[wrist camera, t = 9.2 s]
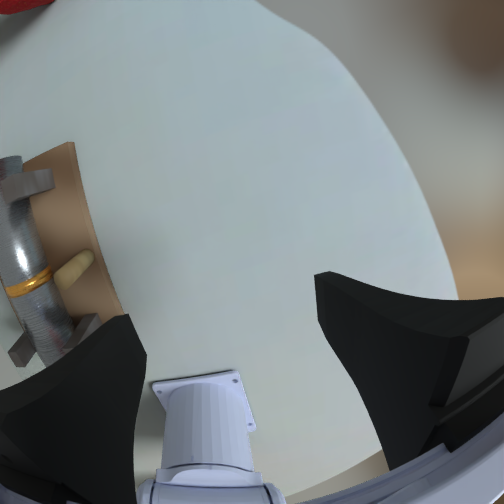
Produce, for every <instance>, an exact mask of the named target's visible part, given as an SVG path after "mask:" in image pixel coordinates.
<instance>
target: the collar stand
mask: <svg viewBox="0 0 504 504" xmlns="http://www.w3.org/2000/svg"><path fill="white" fill-rule="evenodd" d="M23 168H24V172H23V173H17V174H13V175H11V176H9V177H7V178H6V179H4V180H2V181H1V186H2V191H3V196H4V200H5V205H6V204H9V203H12V202H15V201H18V200H21V199H24V198H27V197H29V198H30V203H31V207H32V211H33V215H34V219H35V222H36V226H37V229H38V233H39V236H40V239H41V243H42V246H43V249H44V252H45V255H46V258H47V261H48V263H49V264H50V267H51V270H52V272H53V277H54V282H55V284H56V285H57V287H58V289H59V292H60V294H61V297H62V299H63V301H64V304H65V306H66V308H67V310H68V312H69V315H70V317H71V319H72V321H73V323H74V325H75V327H76V329H75V330H74V332H73V333H72V335H71V336H70V338H69V340H68V341H67V343H66V344H65V346H64V347H63V349H62V350H63V351H64V353H65V355H66V354H67V353H68V352H69V351H71V350H72V349H73V348H74V347H76V346H77V345H78V344H79V343H81V342H82V341H83V340H84V339H86V338H87V337H88V336H89V335H90V334H92V333H93V332H94V331H95V330H96V329H98V328H99V327H100V326H101V325H103V324H104V323H105V322H107V321H108V320H109V319H111V318H113V317H114V316H118V315H124V312H123V310H122V307H121V305H120V302H119V300H118V297H117V295H116V292H115V290H114V287H113V284H112V282H111V279H110V276H109V273H108V271H107V268H106V265H105V262H104V259H103V256H102V253H101V250H100V247H99V244H98V241H97V237H96V234H95V231H94V227H93V224H92V220H91V217H90V213H89V209H88V205H87V202H86V198H85V193H84V189H83V185H82V180H81V176H80V171H79V166H78V161H77V156H76V150H75V144H74V142H66V143H64V144H61V145H59V146H57V147H55V148H53V149H51V150H49V151H47V152H44V153H42V154H40V155H38V156H36V157H35V158H33V159H31V160H29V161H27V162H25V163H23ZM0 280H1V282H2V285H3V287H4V284H3V281H2V279H1V276H0ZM4 290H5V288H4ZM5 292H6V290H5ZM6 294H7V293H6ZM7 297H8V295H7ZM8 299H9V301H10V304H11V306H12V308H13V310H14V312H15V314H16V311H15V309H14V307H13V305H12V303H11V300H10V298H9V297H8ZM16 316H17V314H16ZM17 318H18V316H17ZM18 320H19V318H18ZM19 322H20V320H19ZM20 324H21V322H20ZM21 326H22V324H21ZM22 328H23V326H22ZM23 330H24V328H23ZM35 352H36V350H35V348H34V346H33V345H32V343H31V341H30V339H29V337H28V335H27V334H26V332H25V330H24V333H23V334H22V335H21V336H20V338H19V339H18V340H17V341H16V343H15V344H14V345H13V346H12V347H11V349H10V350H9V351H8V354H9V356H10V358H11V359H12V361H13V362H14V364H15V366H16V367H25V366H26V365H27V364H28V362H29V361H30V359H31V358H32V356H33V355H34V353H35Z"/></svg>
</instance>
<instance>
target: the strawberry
mask: <svg viewBox="0 0 504 504" xmlns="http://www.w3.org/2000/svg"><path fill="white" fill-rule="evenodd" d="M53 1H54V0H0V14H7V15H10V14H14V13H18V12H21V11H25V10H29V9H32V8H35V7H38V6H41V5H46V4H49V3H51V2H53Z"/></svg>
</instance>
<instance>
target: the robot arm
mask: <svg viewBox="0 0 504 504" xmlns="http://www.w3.org/2000/svg"><path fill="white" fill-rule="evenodd" d="M314 280H315V291H316V302H317V315H318V321H319V324H320V326H321V328H322V331H323V333H324V335H325V337H326V339H327V341H328V343H329V344H330V346H331V347H332V349H333V350H334V352H335V354H336V355H337V357H338V358H339V360H340V361H341V363H342V364H343V366H344V368H345V369H346V371H347V372H348V374H349V375H350V377H351V378H352V380H353V382H354V384H355V385H356V387H357V389H358V391H359V393H360V395H361V398H362V400H363V402H364V404H365V406H366V408H367V411H368V413H369V416H370V418H371V420H372V423H373V425H374V427H375V430H376V433H377V435H378V438H379V441H380V443H381V446H382V449H383V451H384V454H385V457H386V461H387V463H388V467H389V470H390V471H389V472H387V473H385V474H383V475H380V476H379V477H376V478H374V479H371V480H369V481H366V482H364V483H361V484H359V485H356V486H353V487H350V488H348V489H345V490H342V491H339V492H336V493H333V494H330V495H326V496H323V497H320V498H316V499H312V500H309V501H305V502H301V503H297V504H492V503H494V502H495V501H496V500H497V499H498V498H499V497H500V496H501V495H502V494H503V493H504V297H497V298H489V299H479V300H440V299H429V298H421V297H415V296H410V295H405V294H400V293H396V292H392V291H388V290H385V289H381V288H378V287H375V286H372V285H369V284H366V283H363V282H360V281H357V280H355V279H352V278H349V277H346V276H344V275H341V274H338V273H334V272H330V271H328V272H324V273H320V274H316V275H314ZM146 361H147V354H146V352H145V350H144V348H143V345H142V343H141V341H140V339H139V337H138V335H137V332H136V330H135V328H134V326H133V323H132V321H131V319H130V316H129V314H124V315H118V316H114V317H113V318H111V319H109V320H108V321H107V322H105V323H104V324H103V325H101V326H100V327H99V328H98V329H96V330H95V331H94V332H93V333H92V334H90V335H89V336H88V337H87V338H86V339H84V340H83V341H82V342H81V343H79V344H78V345H77V346H76V347H74V348H73V349H72V350H71V351H69V352H68V353H67V354H66V355H64V356H63V357H62V358H60V359H59V360H57V361H56V362H55V363H53V364H51V365H50V366H48V367H47V368H45V369H44V370H42V371H40V372H39V373H37V374H35V375H33V376H31V377H29V378H28V379H26V380H24V381H22V382H20V383H18V384H15V385H13V386H11V387H8V388H6V389H3V390H0V504H287V503H286V501H285V498H284V496H283V494H282V492H281V491H280V490H279V489H278V488H276V487H275V486H274V485H273V484H272V483H263V481H262V476H261V472H255V471H254V466H253V460H252V454H251V448H250V442H249V436H248V432H252V431H255V430H256V425H255V422H254V419H253V416H252V413H251V410H250V406H249V403H248V400H247V397H246V394H245V391H244V388H243V384H242V381H241V378H240V375H239V373H238V372H237V371H228V372H223V373H217V374H211V375H205V376H199V377H192V378H185V379H178V380H170V381H162V382H155V383H153V385H152V389H153V391H154V392H155V394H156V396H157V397H158V399H159V401H160V402H161V404H162V406H163V407H164V409H165V411H166V420H165V430H164V439H163V450H162V462H161V469H156V480H154V479H147V480H145V482H143V483H142V484H141V485H140V486H139V487H138V490H137V493H136V492H135V481H134V463H133V447H134V429H135V422H136V417H137V412H138V407H139V402H140V398H141V393H142V389H143V384H144V380H145V374H146ZM234 379H237V380H234ZM158 390H160V391H158Z"/></svg>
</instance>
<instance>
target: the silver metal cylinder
mask: <svg viewBox="0 0 504 504" xmlns="http://www.w3.org/2000/svg"><path fill="white" fill-rule="evenodd" d="M23 172H24V168H23V162H22V157H21V156H10V157H6V158H2V159H0V276H1V279H2V281H3V284H4V288H5V290H6V293H7V295H8V297H9V298H10V300H11V303H12V305H13V307H14V309H15V311H16V314H17V316H18V318H19V320H20V322H21V324H22V326H23V328H24V330H25V332H26V334H27V335H28V337H29V339H30V341H31V343H32V345H33V346H34V348H35V350H36V352H37V353H38V355H39V357H40V358H41V360H42V362H43V363H44V365H45V366H46V368H47V367H48V366H50V365H51V364H53V363H55V362H56V361H57V360H59V359H60V358H62V357H63V356H64V355H65V353H64V351H63V350H62V349H63V347H64V346H65V344H66V343H67V341H68V340H69V338H70V336H71V335H72V333H73V332H74V330H75V329H76V327H75V325H74V323H73V321H72V319H71V317H70V315H69V312H68V310H67V308H66V306H65V304H64V301H63V299H62V297H61V294H60V292H59V289H58V287H57V285H56V284H55V282H54V277H53V272H52V270H51V267H50V264H49V263H48V261H47V258H46V255H45V252H44V249H43V246H42V243H41V239H40V236H39V233H38V229H37V226H36V222H35V219H34V215H33V211H32V207H31V203H30V198H29V197H27V198H24V199H21V200H18V201H15V202H12V203H9V204H6V205H5V200H4V196H3V191H2V186H1V181H2V180H4V179H6V178H7V177H9V176H11V175H13V174H17V173H23Z"/></svg>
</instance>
